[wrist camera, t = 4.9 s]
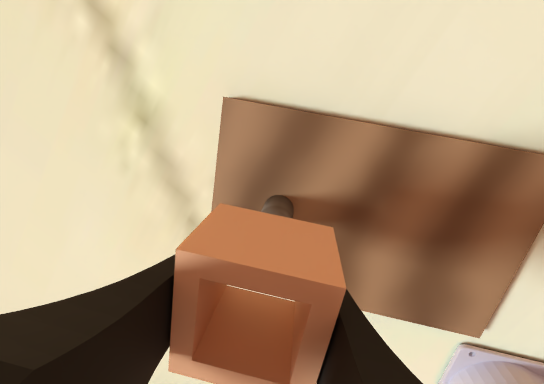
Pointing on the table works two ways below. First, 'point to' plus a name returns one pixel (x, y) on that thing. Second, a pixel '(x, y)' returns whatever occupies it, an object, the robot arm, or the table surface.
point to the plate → (391, 206)
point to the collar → (254, 299)
